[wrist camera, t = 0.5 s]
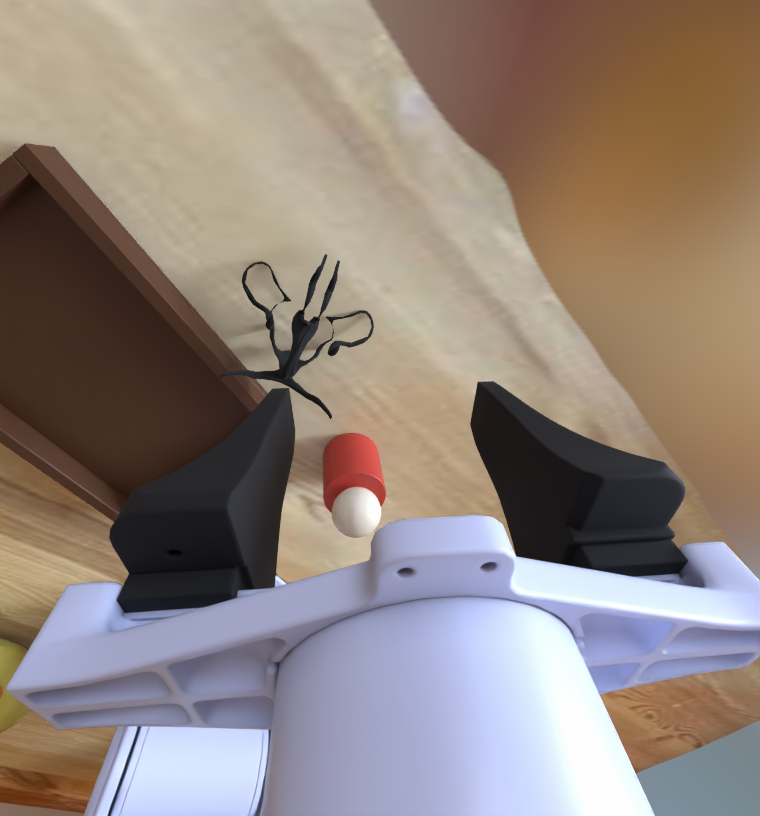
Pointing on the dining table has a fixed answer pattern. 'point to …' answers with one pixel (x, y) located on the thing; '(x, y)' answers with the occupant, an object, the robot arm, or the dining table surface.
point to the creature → (298, 337)
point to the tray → (100, 344)
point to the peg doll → (353, 484)
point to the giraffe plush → (3, 662)
